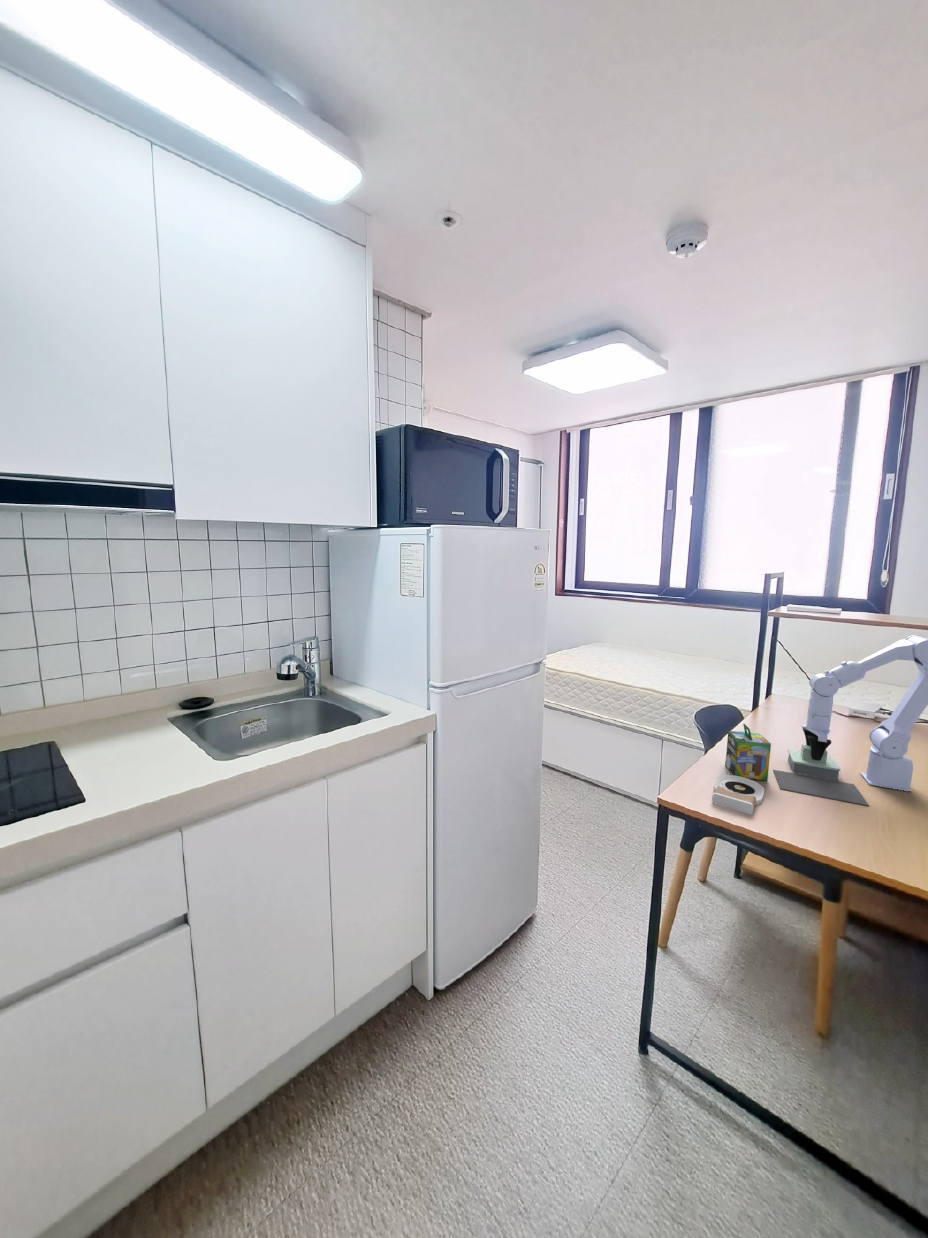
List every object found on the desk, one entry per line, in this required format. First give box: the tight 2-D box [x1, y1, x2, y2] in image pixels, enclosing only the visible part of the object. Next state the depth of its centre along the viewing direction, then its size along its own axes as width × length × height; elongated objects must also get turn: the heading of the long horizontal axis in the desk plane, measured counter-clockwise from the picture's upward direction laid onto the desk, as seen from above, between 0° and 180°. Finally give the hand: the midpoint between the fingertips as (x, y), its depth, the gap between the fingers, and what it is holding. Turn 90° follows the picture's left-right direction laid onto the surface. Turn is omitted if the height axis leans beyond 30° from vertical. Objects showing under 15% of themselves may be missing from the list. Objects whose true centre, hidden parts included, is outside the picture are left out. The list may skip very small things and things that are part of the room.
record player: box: [711, 774, 765, 816], centre depth 133 cm, size 12×3×20 cm
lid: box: [787, 744, 841, 772], centre depth 148 cm, size 12×10×5 cm
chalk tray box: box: [787, 754, 840, 781], centre depth 148 cm, size 11×9×4 cm
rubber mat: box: [772, 769, 870, 807], centre depth 138 cm, size 20×13×1 cm, turn 65°
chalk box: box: [724, 723, 772, 781], centre depth 145 cm, size 9×9×15 cm
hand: (813, 756), depth 148 cm, fingers open, 5 cm apart
